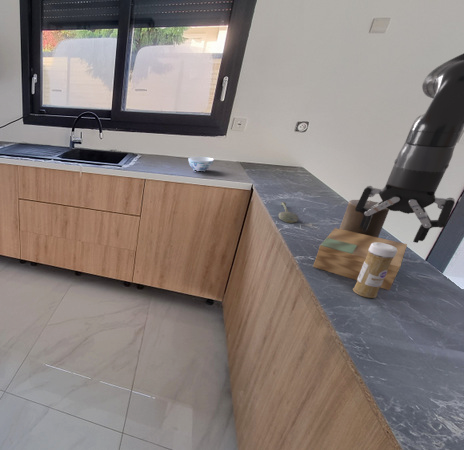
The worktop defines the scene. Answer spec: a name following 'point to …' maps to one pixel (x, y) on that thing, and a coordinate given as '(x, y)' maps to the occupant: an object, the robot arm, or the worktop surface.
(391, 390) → the worktop surface
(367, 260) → the sprinkles bottle
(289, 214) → the soupspoon
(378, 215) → the pillar candle
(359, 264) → the labeled wooden box
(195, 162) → the chinaware
